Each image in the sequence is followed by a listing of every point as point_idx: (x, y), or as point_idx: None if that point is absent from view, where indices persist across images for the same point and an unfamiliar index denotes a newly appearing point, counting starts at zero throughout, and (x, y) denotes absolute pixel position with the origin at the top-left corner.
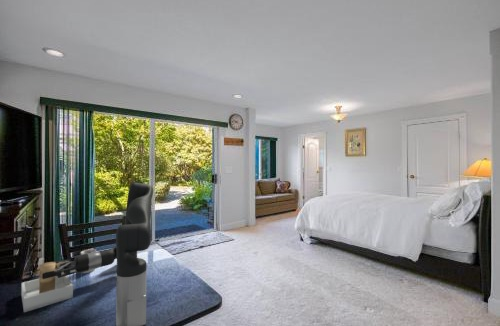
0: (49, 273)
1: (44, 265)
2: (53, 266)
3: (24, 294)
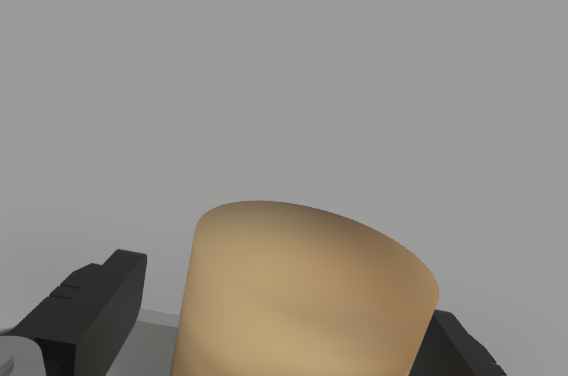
0: (65, 300)
1: (283, 220)
2: (206, 313)
3: (150, 314)
